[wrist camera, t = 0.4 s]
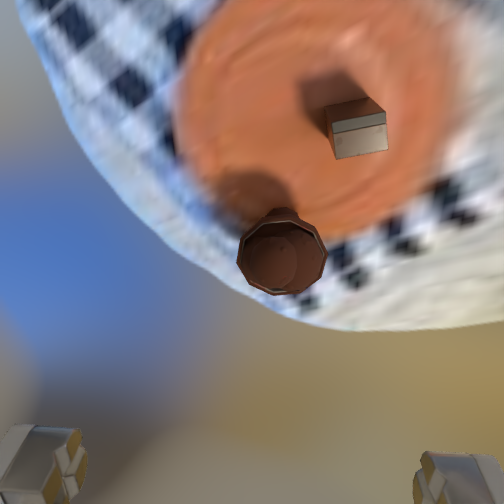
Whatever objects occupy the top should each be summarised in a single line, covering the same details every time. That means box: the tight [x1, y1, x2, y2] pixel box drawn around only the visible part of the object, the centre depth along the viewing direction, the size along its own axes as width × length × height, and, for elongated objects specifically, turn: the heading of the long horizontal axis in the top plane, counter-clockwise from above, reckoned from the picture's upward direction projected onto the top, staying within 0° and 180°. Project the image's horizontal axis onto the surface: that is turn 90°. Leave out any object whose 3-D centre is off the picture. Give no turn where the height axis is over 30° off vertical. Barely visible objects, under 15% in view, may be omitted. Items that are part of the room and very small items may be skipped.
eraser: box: [324, 97, 388, 160], centre depth 48 cm, size 4×6×9 cm
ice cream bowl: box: [236, 207, 328, 296], centre depth 53 cm, size 11×11×15 cm
